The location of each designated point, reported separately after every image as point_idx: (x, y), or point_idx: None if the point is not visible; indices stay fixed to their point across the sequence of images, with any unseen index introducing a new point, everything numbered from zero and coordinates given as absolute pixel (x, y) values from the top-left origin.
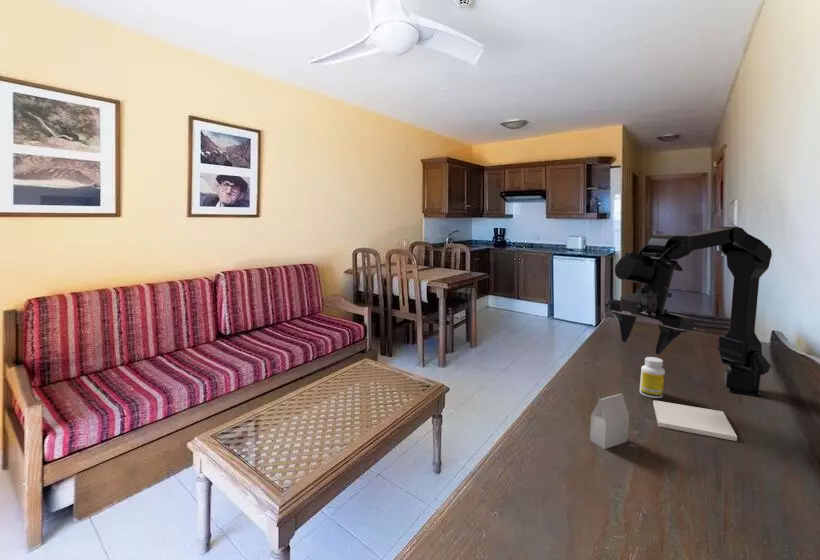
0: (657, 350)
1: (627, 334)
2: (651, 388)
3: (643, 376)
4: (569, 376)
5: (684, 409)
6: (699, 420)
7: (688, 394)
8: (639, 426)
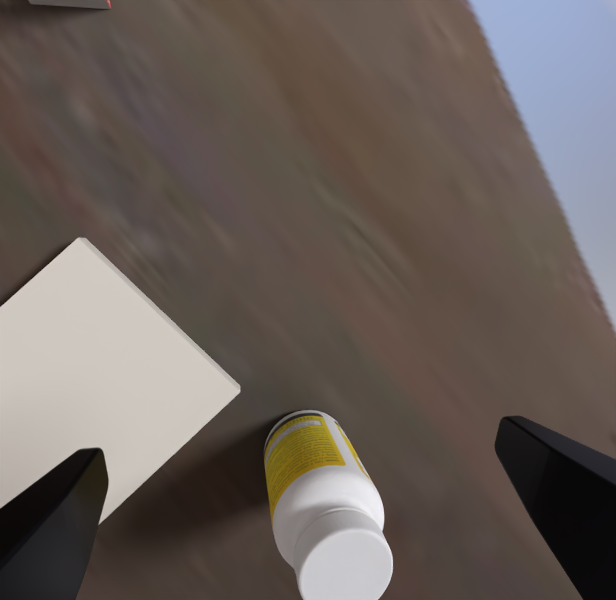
0: (56, 470)
1: (557, 518)
2: (285, 438)
3: (334, 451)
4: (559, 277)
5: (128, 436)
6: (31, 409)
7: (247, 578)
8: (114, 166)
